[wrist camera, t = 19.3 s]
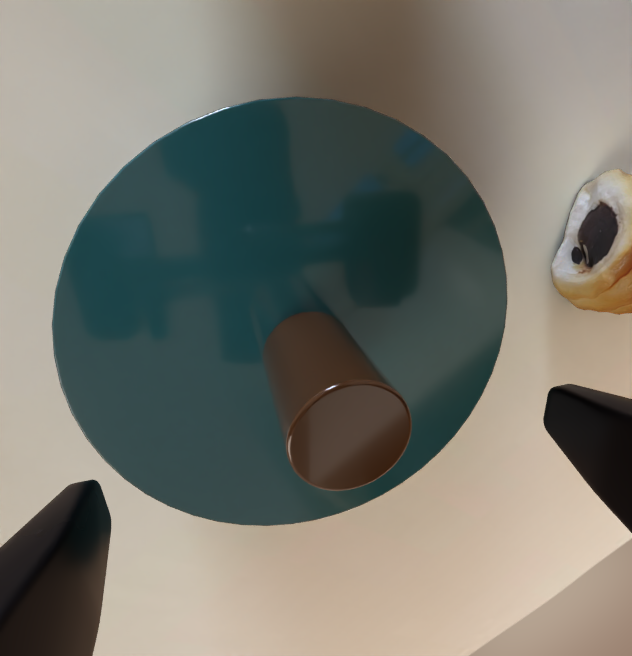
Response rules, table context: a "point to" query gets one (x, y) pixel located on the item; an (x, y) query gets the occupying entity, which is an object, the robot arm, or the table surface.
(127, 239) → the lid
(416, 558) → the table surface
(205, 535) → the table surface
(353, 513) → the table surface
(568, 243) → the pastry
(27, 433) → the table surface
